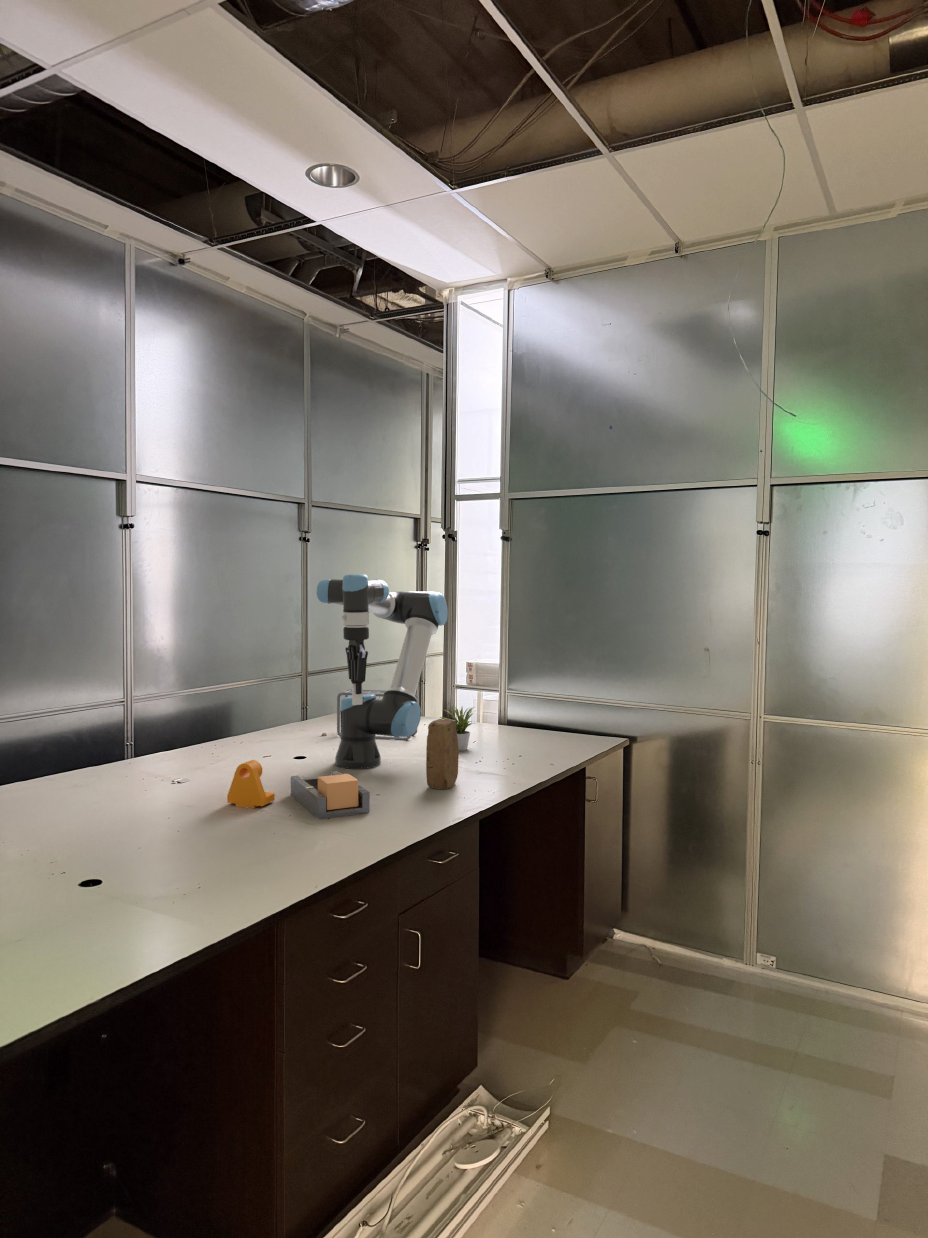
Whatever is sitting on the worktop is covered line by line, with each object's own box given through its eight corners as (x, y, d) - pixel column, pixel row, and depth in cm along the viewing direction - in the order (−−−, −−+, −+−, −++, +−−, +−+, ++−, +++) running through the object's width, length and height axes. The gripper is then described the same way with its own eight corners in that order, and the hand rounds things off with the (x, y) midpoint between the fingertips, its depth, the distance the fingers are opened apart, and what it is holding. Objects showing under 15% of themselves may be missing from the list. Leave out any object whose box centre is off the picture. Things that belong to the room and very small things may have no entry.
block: (446, 791, 241) (447, 723, 240) (423, 788, 244) (424, 721, 243) (461, 783, 250) (462, 718, 249) (439, 780, 253) (439, 716, 252)
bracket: (276, 802, 227) (275, 759, 227) (262, 809, 220) (261, 765, 220) (242, 799, 231) (241, 756, 230) (227, 805, 224) (227, 762, 223)
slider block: (317, 802, 221) (317, 777, 221) (348, 799, 225) (348, 773, 225) (327, 810, 214) (327, 783, 214) (358, 806, 218) (358, 780, 218)
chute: (290, 795, 235) (290, 775, 234) (337, 789, 241) (337, 770, 241) (318, 819, 212) (318, 797, 211) (369, 812, 218) (369, 791, 218)
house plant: (457, 743, 311) (457, 700, 311) (487, 747, 303) (488, 703, 303) (434, 749, 300) (434, 704, 299) (464, 754, 292) (465, 708, 291)
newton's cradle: (336, 737, 321) (336, 692, 320) (345, 732, 331) (345, 688, 330) (410, 741, 315) (411, 695, 314) (417, 735, 325) (417, 691, 324)
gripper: (336, 625, 248) (338, 702, 250) (351, 628, 237) (353, 709, 239) (360, 623, 252) (361, 699, 254) (376, 627, 240) (377, 706, 242)
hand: (357, 704), depth 246 cm, fingers closed
